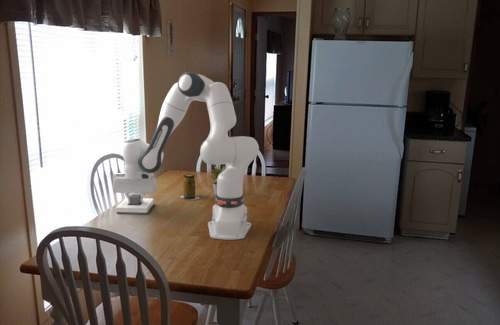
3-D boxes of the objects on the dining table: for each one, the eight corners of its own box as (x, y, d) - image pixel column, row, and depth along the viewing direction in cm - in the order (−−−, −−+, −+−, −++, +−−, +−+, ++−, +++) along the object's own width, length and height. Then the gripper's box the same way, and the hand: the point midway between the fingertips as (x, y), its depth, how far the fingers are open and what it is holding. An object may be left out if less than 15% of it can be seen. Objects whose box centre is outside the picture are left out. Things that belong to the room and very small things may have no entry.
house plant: (229, 200, 226) (229, 169, 222) (203, 198, 229) (203, 167, 225) (235, 192, 240) (236, 163, 236) (211, 190, 242) (211, 161, 238)
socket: (146, 214, 205) (146, 208, 204) (116, 213, 205) (116, 207, 204) (153, 204, 218) (153, 198, 218) (125, 203, 218) (125, 197, 218)
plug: (138, 207, 209) (138, 197, 208) (130, 207, 209) (129, 197, 208) (141, 203, 214) (140, 194, 212) (133, 203, 214) (132, 193, 213)
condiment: (191, 194, 235) (191, 172, 232) (200, 198, 229) (200, 176, 226) (179, 196, 230) (179, 174, 228) (188, 201, 224) (188, 178, 221)
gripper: (110, 174, 205) (111, 203, 208) (154, 175, 204) (155, 204, 207) (114, 171, 211) (116, 198, 214) (157, 172, 210) (158, 199, 214)
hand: (135, 201), depth 211 cm, fingers closed on plug, 4 cm apart
